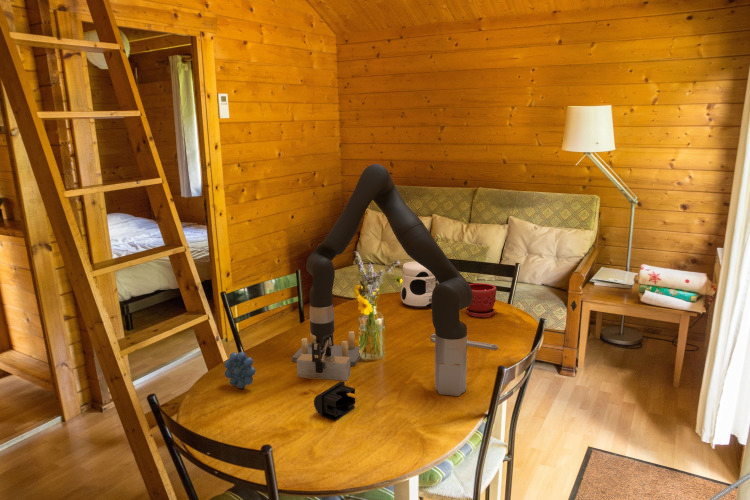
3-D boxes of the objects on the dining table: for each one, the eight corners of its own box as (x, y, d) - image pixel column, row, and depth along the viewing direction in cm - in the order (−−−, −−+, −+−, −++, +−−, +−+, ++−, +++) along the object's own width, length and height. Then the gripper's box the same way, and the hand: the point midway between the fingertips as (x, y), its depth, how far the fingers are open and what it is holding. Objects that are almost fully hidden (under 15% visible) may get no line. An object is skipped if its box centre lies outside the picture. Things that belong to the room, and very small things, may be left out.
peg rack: (355, 366, 181) (354, 344, 180) (292, 361, 186) (291, 340, 184) (364, 350, 194) (364, 330, 192) (305, 346, 198) (304, 327, 197)
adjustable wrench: (499, 349, 194) (499, 344, 194) (492, 355, 189) (493, 351, 188) (434, 336, 207) (434, 332, 206) (426, 342, 201) (426, 337, 201)
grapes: (265, 386, 168) (262, 349, 166) (250, 395, 163) (248, 357, 160) (235, 378, 174) (233, 343, 171) (220, 387, 168) (217, 350, 165)
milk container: (406, 297, 255) (406, 259, 251) (443, 300, 249) (443, 261, 245) (396, 308, 239) (395, 268, 235) (435, 312, 233) (435, 270, 229)
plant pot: (500, 312, 232) (500, 284, 229) (488, 321, 221) (489, 292, 218) (470, 307, 238) (471, 280, 236) (458, 316, 228) (458, 288, 225)
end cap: (336, 400, 159) (336, 378, 157) (356, 407, 155) (356, 384, 153) (313, 415, 151) (312, 392, 149) (334, 422, 147) (333, 399, 145)
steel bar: (346, 381, 171) (345, 363, 169) (297, 377, 174) (296, 360, 173) (350, 374, 175) (350, 357, 174) (303, 371, 179) (302, 353, 178)
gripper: (326, 327, 163) (328, 377, 167) (340, 311, 177) (341, 358, 180) (302, 325, 165) (304, 375, 169) (317, 310, 179) (319, 356, 182)
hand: (323, 366), depth 175 cm, fingers open, 8 cm apart
